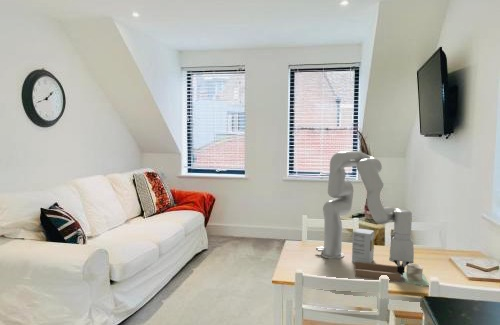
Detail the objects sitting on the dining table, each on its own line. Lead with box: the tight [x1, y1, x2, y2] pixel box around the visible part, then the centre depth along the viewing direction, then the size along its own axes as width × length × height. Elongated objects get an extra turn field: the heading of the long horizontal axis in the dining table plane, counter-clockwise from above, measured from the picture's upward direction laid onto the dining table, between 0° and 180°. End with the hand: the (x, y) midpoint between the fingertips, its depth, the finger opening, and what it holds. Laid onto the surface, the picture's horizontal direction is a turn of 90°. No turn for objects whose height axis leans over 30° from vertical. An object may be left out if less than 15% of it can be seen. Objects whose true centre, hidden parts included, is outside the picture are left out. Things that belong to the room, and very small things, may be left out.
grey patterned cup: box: [406, 263, 424, 282], centre depth 166 cm, size 6×6×6 cm
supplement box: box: [351, 227, 375, 263], centre depth 189 cm, size 10×9×17 cm
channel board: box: [354, 262, 430, 287], centre depth 169 cm, size 32×14×4 cm, turn 74°
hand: (400, 273), depth 168 cm, fingers closed
